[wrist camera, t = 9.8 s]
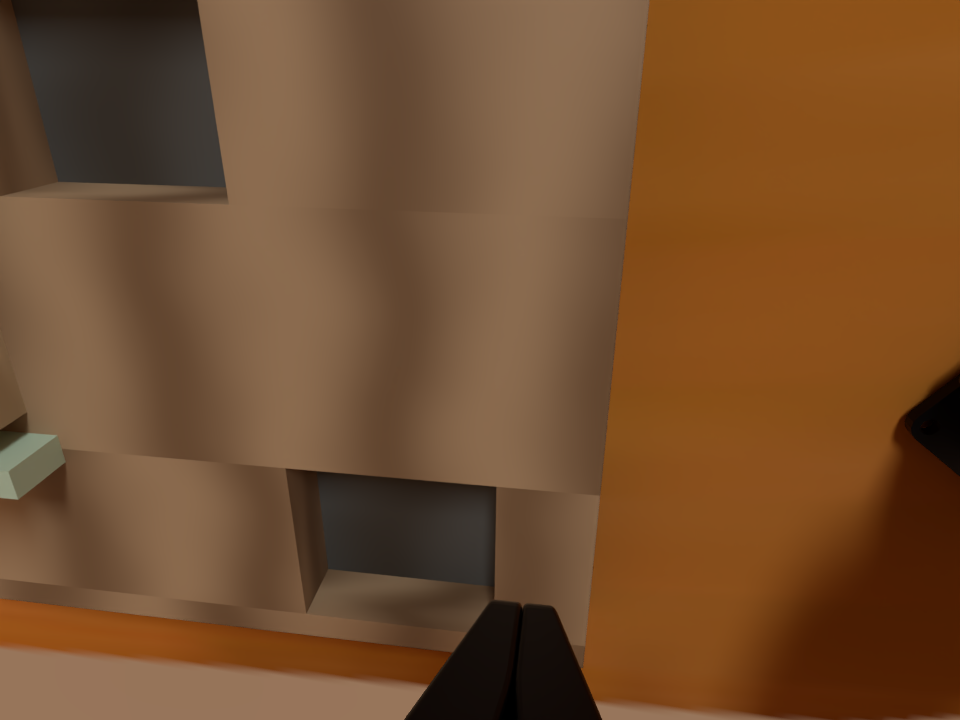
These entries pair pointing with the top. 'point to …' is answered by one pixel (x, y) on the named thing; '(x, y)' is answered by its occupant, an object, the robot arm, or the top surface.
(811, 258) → the top surface
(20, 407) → the maple block
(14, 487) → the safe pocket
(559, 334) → the board
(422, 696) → the robot arm
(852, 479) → the top surface
